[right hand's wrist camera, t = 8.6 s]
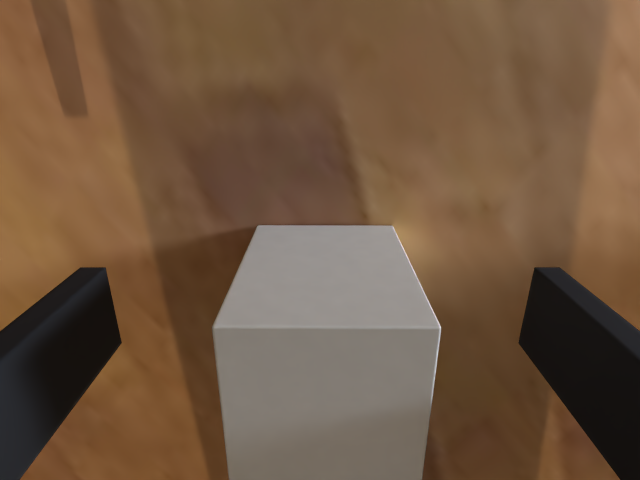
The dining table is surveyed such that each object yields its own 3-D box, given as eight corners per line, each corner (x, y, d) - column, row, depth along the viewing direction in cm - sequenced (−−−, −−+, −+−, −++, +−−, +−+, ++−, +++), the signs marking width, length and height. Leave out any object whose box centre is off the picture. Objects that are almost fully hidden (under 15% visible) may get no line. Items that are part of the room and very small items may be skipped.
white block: (393, 224, 14) (442, 327, 8) (385, 339, 15) (421, 491, 10) (257, 224, 14) (210, 326, 8) (263, 339, 15) (229, 490, 10)
